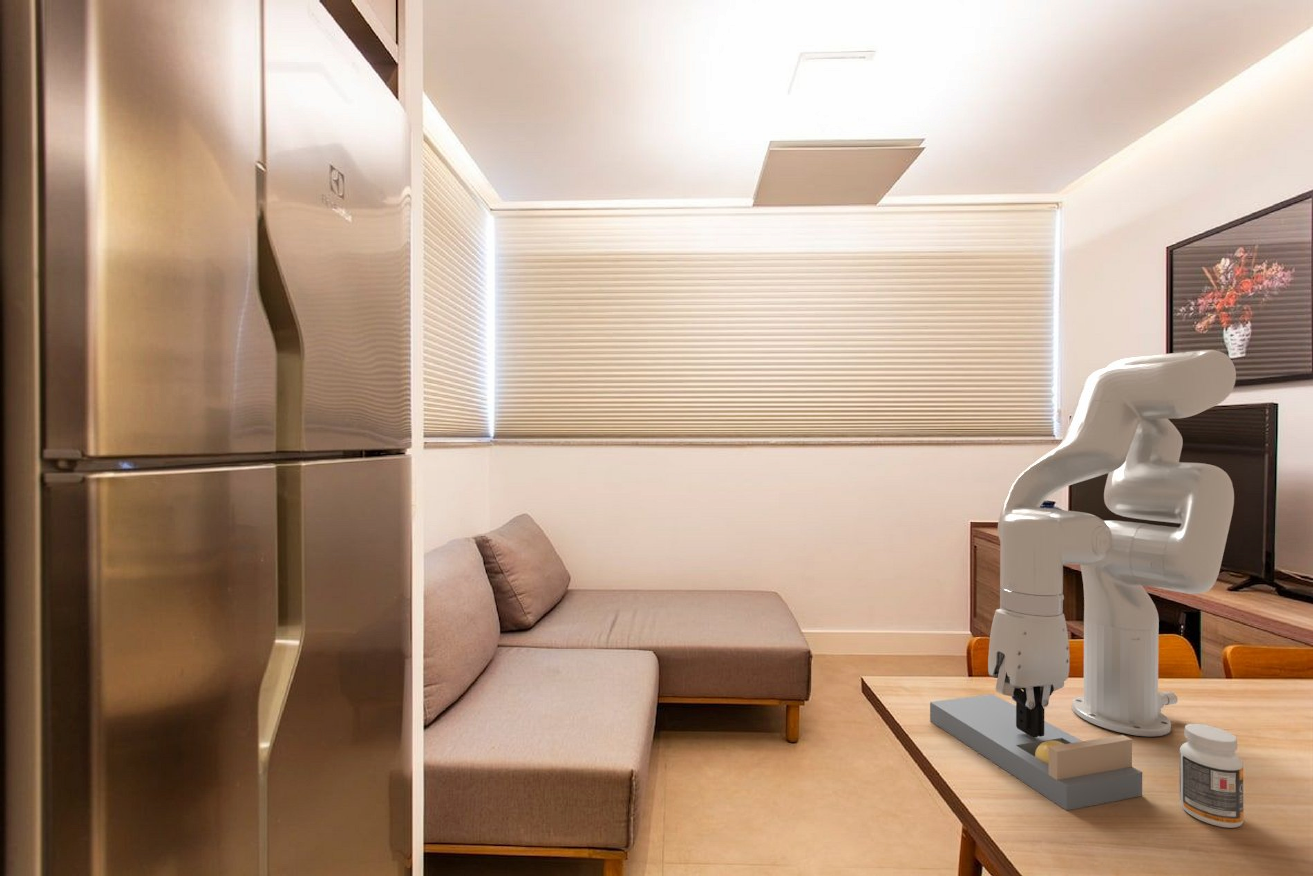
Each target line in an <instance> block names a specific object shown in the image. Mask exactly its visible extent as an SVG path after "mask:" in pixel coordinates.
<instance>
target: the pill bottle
mask: <svg viewBox="0 0 1313 876" xmlns="http://www.w3.org/2000/svg"><path fill="white" fill-rule="evenodd" d="M1183 735H1184V737H1185V738H1186V742H1184V743H1182V744H1181V745H1180V748H1179V803H1180V806H1181V808H1182V809H1183V810H1184V811H1185V812H1186V813H1187V814H1189V815H1190V816H1191V817H1193V818H1195V819H1196V820H1198V821H1201V822H1203V823H1205V824H1206V823H1207V824H1208V825H1213V826H1217V827H1219V828H1220V827H1221V828H1226V829H1227V828H1231V829H1232V828H1239V827H1241V826H1242V825H1243V823H1244V764H1243V761H1242V759H1241V758H1240V757H1239V756H1238V754H1237V753H1235V752H1236V751H1237V750H1238V739H1237V738H1238V737H1236V736H1235V735H1234V734H1232V733H1231V732H1229V731H1226V730H1225V729H1222V728H1219V727H1216V726H1211V725H1208V724H1202V723H1188V724H1185V726H1184V734H1183Z"/></svg>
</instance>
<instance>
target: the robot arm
mask: <svg viewBox="0 0 1313 876" xmlns="http://www.w3.org/2000/svg"><path fill="white" fill-rule="evenodd" d="M1236 378H1237V370H1236V367H1235V365H1234V363H1233V360H1232V359H1231V358H1230V357H1229V355H1227V354H1225V352H1222V351H1220V350H1214V349H1203V350H1195V351H1184V352H1173V353H1172V352H1171V353H1163V354H1161V353H1159V354H1150V355H1141V356H1132V357H1128V358H1122V359H1120V360H1119V359H1118V360H1116V361H1114V362H1111V363H1110V364H1108V365H1107V367H1105V368H1101V369H1098V370H1096V371H1094V372H1092V373H1091V374H1090V375H1088V376H1087V378H1086V380H1085V381H1084V383H1083V385H1082V388H1081V389H1080V393H1079V395H1078V398H1077V400H1076V403H1075V406H1074V408H1073V410H1072V414H1071V416H1070V418H1069V421H1068V424H1067V426H1066V428H1065V432H1064V433H1063V437H1062V439H1061V442H1060V443H1059V445H1058V446H1056V447H1055V448H1054V449H1052V450H1051V451H1049V452H1047V453H1045V454H1044V455H1043V456H1041V457H1039V459H1037V460H1036V461H1035V462H1033V463H1032V464H1031V465H1030V466H1028V467H1027V468H1026V469H1025V470H1023V472H1022V473H1020V474H1019V475H1018V476H1017V478H1016V479H1015V480H1014V481H1013V483H1012V485H1011V487H1010V489H1009V490H1008V493H1007V496H1006V498H1005V501H1004V504H1003V505H1002V508H1001V511H1000V514H999V518H998V523H997V536H998V539H999V541H1000V550H999V551H1000V554H999V555H1000V556H999V557H1000V560H999V562H1000V563H999V573H1000V574H999V578H1000V579H999V581H1000V582H999V583H1000V584H999V585H1000V586H999V605H1000V606H999V608H998V609H995V612H994V615H993V619H992V623H991V628H990V634H989V635H990V636H989V645H988V660H987V662H988V663H987V668H988V669H987V671H988V675H989V676H990V677H992V678H994V679H997V680H996V684H995V691H996V692H997V693H1000V694H1001V695H1004V696H1009V697H1011V699H1012V701H1013V702H1015V704H1016V705H1015V706H1016V727H1017V728H1018V729H1019V730H1021V731H1023V732H1024V733H1026V734H1028V735H1030V736H1031V737H1038V736H1044V721H1045V708H1047V707H1048V706H1049V704H1050V703H1049V701H1050V697H1051V695H1052V694H1053V693H1054V692H1056V691H1058V690H1060V689H1062V688H1064V687H1065V682H1066V681H1067V680H1068V678H1069V674H1070V662H1071V661H1070V643H1069V642H1070V641H1069V633H1068V627H1067V626H1068V625H1067V622H1066V618H1065V617H1066V616H1065V614H1064V613H1063V611H1064V608H1063V607H1064V606H1063V605H1064V602H1063V601H1064V600H1065V596H1064V592H1063V591H1064V585H1063V584H1064V565H1074V566H1076V565H1078V566H1080V571H1081V578H1082V584H1083V598H1084V599H1083V604H1084V605H1083V609H1084V610H1083V695H1078V696H1077V697H1075V698H1073V699H1072V702H1071V704H1072V705H1071V706H1072V710H1073V712H1074V713H1075V714H1076V715H1077V716H1078V717H1080V718H1081V719H1083V720H1084V721H1085V722H1088V723H1091V724H1093V725H1095V726H1098V727H1101V728H1103V729H1106V730H1109V731H1113V732H1117V733H1120V734H1125V735H1131V736H1137V737H1139V736H1140V737H1154V738H1155V737H1162V736H1165V735H1167V734H1169V733H1170V732H1171V730H1172V723H1171V720H1170V719H1169V718H1168V717H1167V716H1166V715H1164V714H1163V713H1162V708H1163V707H1165V706H1169V705H1170V706H1171V705H1176V704H1177V703H1178V697H1177V695H1176V694H1175V693H1174V692H1172V691H1162V692H1159V628H1160V627H1159V626H1160V625H1159V622H1160V619H1159V612H1158V610H1157V607H1156V604H1155V603H1154V601H1153V600H1152V598H1151V596H1150V595H1149V593H1148V592H1147V590H1145V588H1144V587H1149V588H1155V589H1161V590H1165V591H1171V592H1177V593H1182V594H1189V595H1190V594H1191V595H1199V594H1204V593H1206V592H1208V591H1210V590H1211V589H1212V588H1213V587H1214V586H1215V584H1216V581H1217V579H1218V577H1219V574H1220V570H1221V566H1222V561H1223V558H1224V557H1223V556H1224V552H1225V550H1226V549H1225V548H1226V544H1227V539H1228V534H1229V531H1230V526H1231V521H1232V516H1233V512H1234V505H1235V491H1234V487H1233V485H1234V484H1233V481H1232V480H1231V478H1230V476H1229V474H1228V473H1227V472H1226V471H1224V470H1223V469H1222V468H1220V467H1219V466H1217V465H1212V464H1207V463H1201V462H1183V461H1182V462H1181V461H1180V458H1181V453H1182V449H1183V437H1182V434H1181V433H1180V431H1179V430H1178V429H1177V427H1176V426H1175V424H1173V422H1171V421H1170V419H1184V418H1189V417H1192V416H1195V415H1198V414H1200V413H1202V412H1205V411H1207V410H1209V409H1211V408H1214V407H1215V406H1218V405H1219V404H1221V403H1222V402H1224V401H1225V400H1226V399H1227V398H1228V397H1229V396H1230V394H1232V392H1233V390H1234V387H1235V385H1236V380H1237V379H1236ZM1103 475H1107V477H1106V482H1105V486H1104V492H1103V500H1104V501H1103V502H1104V504H1105V506H1106V508H1107V509H1108V510H1109V511H1111V512H1112V513H1114V514H1115V515H1118V516H1121V517H1124V518H1125V517H1126V518H1130V519H1138V520H1146V521H1153V522H1154V521H1155V522H1162V523H1163V522H1165V523H1173V524H1180V526H1179V527H1176V526H1167V525H1159V524H1157V525H1156V524H1151V523H1150V524H1149V523H1144V522H1143V523H1142V522H1133V521H1123V520H1112V519H1111V520H1104V519H1102V518H1100V517H1098V516H1096V515H1094V514H1092V513H1088V512H1084V511H1082V512H1081V511H1077V510H1076V511H1075V510H1066V509H1065V510H1064V509H1059V508H1058V509H1057V508H1050V507H1041V506H1042V505H1043V504H1044V502H1045V501H1047V499H1048V498H1049V497H1050V496H1053V494H1055V493H1056V492H1058V491H1060V490H1062V489H1064V488H1067V487H1069V486H1071V485H1074V484H1078V483H1081V482H1084V481H1089V480H1091V479H1094V478H1097V477H1101V476H1103Z"/></svg>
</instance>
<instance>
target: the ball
mask: <svg viewBox="0 0 1313 876" xmlns="http://www.w3.org/2000/svg"><path fill="white" fill-rule="evenodd" d="M1063 744H1064V743H1062V742H1059V741H1052V740H1050V741H1045V742H1043V743H1041V744H1040V745H1039V746H1038V747H1037V749H1036V752H1035V757H1036V758H1038V759H1040V760H1041V761H1043V762H1045V763H1046V764H1048V765H1049V747H1050V746H1056V745H1063Z"/></svg>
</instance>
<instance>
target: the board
mask: <svg viewBox="0 0 1313 876" xmlns="http://www.w3.org/2000/svg"><path fill="white" fill-rule="evenodd" d="M929 706H930V707H929V720H930V722H931V723H933V724H934V725H935V726H937V727H939V728H941V730H944V731H945V732H947V733H948V734H950V735H951V736H952V737H954V738H956V739H957V740H959V741H960V742H962V743H963V744H965V745H966V746H968V747H969V748H970V749H972V750H974V751H976V752H977V753H978V754H979V755H981V756H983V757H985V758H986V759H987V760H989V761H990V762H992V763H993V764H995V765H997V766H998V767H999V768H1001V769H1003V770H1004V771H1006V772H1007V773H1009V774H1010V775H1011V776H1012V777H1013V776H1014V777H1015V778H1017V779H1018V780H1019V781H1021V782H1022V783H1024V784H1026V785H1027V786H1028V787H1030V788H1032V789H1033V790H1034V791H1036V792H1037V793H1039V794H1041V795H1042V796H1044V797H1045V798H1047V799H1048V800H1050V801H1051V802H1053V803H1054V804H1056V805H1057V806H1059V807H1060V808H1062V809H1063V810H1065V811H1070V810H1076V809H1081V808H1085V807H1086V808H1087V807H1091V806H1096V805H1101V804H1107V803H1112V802H1118V801H1122V800H1128V799H1132V798H1133V799H1134V798H1137V797H1142V796H1143V771H1141V770H1139V769H1137V768H1135V767H1133V739H1132V738H1131V737H1128V736H1126V735H1124V734H1121V735H1113V736H1108V737H1102V738H1101V737H1100V738H1096V739H1089V740H1084V741H1083V740H1081V739H1080V738H1077V737H1076V736H1074V735H1072V734H1070V733H1068V732H1066V731H1064V730H1063V729H1061V728H1058V727H1056V726H1054V725H1053V724H1051V723H1049V722H1047V721H1045V720H1044V736H1038V737H1031V736H1030V735H1028V734H1026V733H1024V732H1023V731H1021V730H1019V729H1018V728H1017V727H1016V705H1014V704H1012V703H1010V702H1008V700H1005V699H1003V698H1001V697H999V696H997V695H995V694H993V693H991V694H990V693H989V694H983V695H976V696H975V695H974V696H968V697H960V698H952V699H944V700H936V701H930V702H929ZM1050 740H1052V741H1059V742H1062V743H1064V744H1063V745H1056V746H1050V747H1049V765H1048V764H1046V763H1045V762H1043V761H1041V760H1040V759H1038V758H1036V757H1035V752H1036V749H1037V747H1038V746H1039V745H1040V744H1041V743H1043V742H1045V741H1050Z"/></svg>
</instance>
